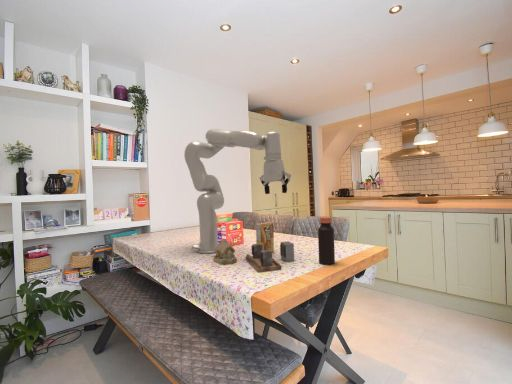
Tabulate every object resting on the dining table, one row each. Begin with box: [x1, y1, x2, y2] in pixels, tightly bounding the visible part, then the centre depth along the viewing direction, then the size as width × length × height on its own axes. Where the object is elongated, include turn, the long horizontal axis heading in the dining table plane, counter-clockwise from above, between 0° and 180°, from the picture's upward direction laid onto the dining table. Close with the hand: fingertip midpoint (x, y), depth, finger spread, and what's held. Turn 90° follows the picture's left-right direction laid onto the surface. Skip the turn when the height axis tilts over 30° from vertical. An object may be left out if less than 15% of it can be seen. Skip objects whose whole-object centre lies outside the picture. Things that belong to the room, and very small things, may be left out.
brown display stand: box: [245, 243, 282, 273], centre depth 120 cm, size 10×20×8 cm, turn 17°
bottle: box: [317, 216, 336, 266], centre depth 119 cm, size 7×7×20 cm
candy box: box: [255, 221, 275, 253], centre depth 141 cm, size 9×4×15 cm, turn 129°
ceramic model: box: [212, 239, 238, 266], centre depth 129 cm, size 14×11×10 cm
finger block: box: [279, 241, 295, 263], centre depth 126 cm, size 4×6×8 cm
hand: (275, 193), depth 132 cm, fingers open, 9 cm apart
